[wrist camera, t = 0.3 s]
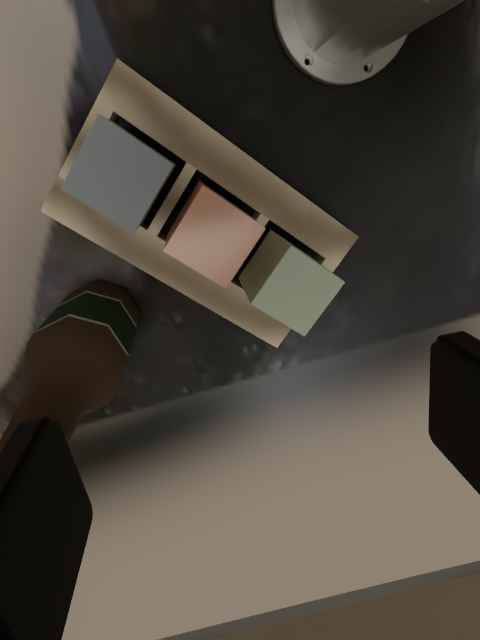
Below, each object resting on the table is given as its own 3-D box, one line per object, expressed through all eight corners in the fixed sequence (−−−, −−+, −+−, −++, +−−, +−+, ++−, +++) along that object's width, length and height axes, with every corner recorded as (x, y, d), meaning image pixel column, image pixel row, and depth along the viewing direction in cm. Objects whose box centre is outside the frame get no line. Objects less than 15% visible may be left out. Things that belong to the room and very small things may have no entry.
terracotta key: (199, 180, 36) (202, 185, 29) (250, 215, 38) (266, 228, 30) (167, 233, 37) (163, 250, 30) (217, 265, 39) (225, 289, 32)
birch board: (122, 66, 34) (117, 58, 32) (347, 232, 42) (358, 237, 40) (50, 207, 38) (40, 211, 35) (271, 336, 46) (277, 348, 43)
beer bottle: (146, 343, 44) (107, 527, 22) (73, 350, 43) (-46, 548, 21) (136, 274, 41) (79, 405, 19) (57, 280, 40) (-98, 424, 18)
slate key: (117, 124, 34) (98, 113, 26) (175, 164, 35) (173, 164, 28) (86, 183, 35) (60, 188, 27) (144, 219, 37) (133, 233, 29)
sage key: (270, 229, 38) (291, 245, 31) (315, 260, 40) (345, 282, 33) (238, 277, 40) (250, 303, 32) (283, 305, 41) (304, 336, 34)
